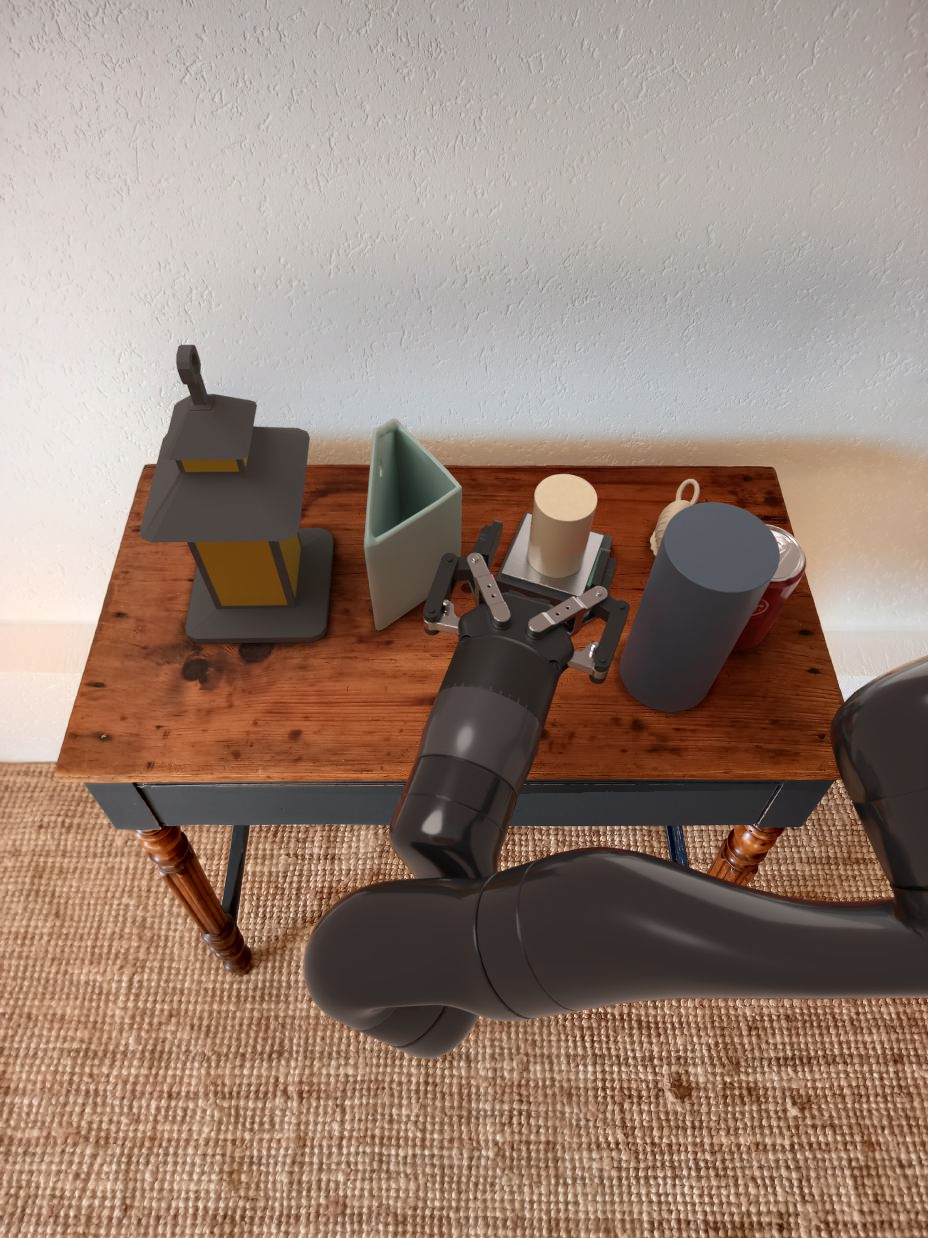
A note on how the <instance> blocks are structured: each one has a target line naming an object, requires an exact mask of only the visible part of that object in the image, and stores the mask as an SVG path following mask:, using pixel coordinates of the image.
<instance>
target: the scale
mask: <svg viewBox="0 0 928 1238" xmlns="http://www.w3.org/2000/svg"><path fill="white" fill-rule="evenodd" d="M531 518H532V512H529V511H526V510H525V511H524V514H523V516H522V518H521V520H520V523H519V525H518V527H517V529H516V532H515V533H514V536H513V538H512V541H511V543H510V546H509V548H508V550H507V552H506V555H505V557H504V559H503V562H502V564H501V566H500V568H499V571H498V573H497V575H496V577H495V582H496V584H497V586H498V589H499V591H500V593H508V592H509V590H512V591H516V592H519V593H521V594H523V595H525V596H527V597H529V598H541V599H545V600H549V601H550V604H551V605H552V606H554V607H555V606H557V605H559V604H560V603H562V602H564V601H566V600H567V599H569V598H571V597H573V596H575V597H578V596H580V595H582V594H583V593H585V592H587V591H589V590H590V585H591V582H592V578H593V575H594V572H595V569H596V565H597V562H598V559H599V556H600V552H601V549H602V548H603V549H607V550H610V551H611V549H612V545H613V542H614V536H612V535H609V534H605V533H602V532H598V531H595V530H592V529H591V533H590V537H589V542H588V546H587V550H586V555H585V559H584V563H583V565H582V567H581V568H580V569H579V570H578V571H577V572H576V573H574V574H573V575H570V576H568V577H563V578H552V577H548V576H545V575H542V574H541V573H539V572H537V571H536V570H535V569H534V568H533V567H532V566H531V564H530V562H529V560H528V557H527V549H528V542H529V534H530V526H531Z"/></svg>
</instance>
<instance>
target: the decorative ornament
mask: <svg viewBox="0 0 928 1238" xmlns="http://www.w3.org/2000/svg"><path fill="white" fill-rule="evenodd" d="M690 484H691V485H692V486H693V488H694V492H693V496H692V499H691V500H685V499H683V500H682V496H683V491H684V490H685V488H686V487H687V486H688V485H690ZM700 492H701V490H700V484H699V482H698V481H697V480H696V479H693V478H687V479H685V480H683V482H682V483H681V484H680V485H679V487H678V488H677V491H676V494H675V500H674V501H672V502H671V503H669V504H668V505H667V506H666V507H664V509H663V510H662V511H661V513H660V514H659V516H658V520H657V523H656V526H655V530H654V531H653V533H652V535H651V537H650V539H649V542H650V543H649V544H650V550H651V551H652V552H653V556H654V557H656V555H657V552H658V549H659V546H660V543H661V540H662V537H663V535H664V532H665V529H666V527H667V524H668V523H669V521H670V520H671V519H672V517H673V516H674V515H675V514H677V513H678V512H679V511H681V510H683V509H684V508H686V507H689V506H691V505H695V504H697V502H698V500H699V497H700Z"/></svg>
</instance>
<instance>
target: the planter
mask: <svg viewBox="0 0 928 1238" xmlns="http://www.w3.org/2000/svg"><path fill="white" fill-rule="evenodd" d="M371 435H372V437H371V449H370V460H369V461H370V462H369V474H368V486H367V487H368V488H367V498H366V499H367V500H366V510H365V524H364V536H363V538H364V539H363V551H364V559H365V565H366V572H367V579H368V580H367V581H368V585H369V593H370V600H371V606H372V613H373V621H374V626H375V630H376V631H382V630H384V629H386V628H388V627H389V626H390V625H391V624H393V623H394V622H395V621H397V620H399V619H400V618H401V617H403V616H404V615H406V614H407V613H409V612H410V611H412V610H413V609H414V608H416V607H418V606H419V605H420V604H422V603H424V601H425V602H426V600H427V597H428V595H429V592H430V589H431V586H432V583H433V581H434V578H435V575H436V572H437V570H438V567H439V564H440V561H441V558H442V556H443V555H444V554H446V553H453V554H455V555H456V556H457V557H462V518H463V517H462V515H463V513H462V512H463V487H462V485H461V484H460V482H458V480H457V479H456V478H455V477H454V476H453V475H452V474H451V472H450V471H449V470H448V469H447V468H446V467H445V466H444V465H443V464H442V463H441V462H440V460H438V459H437V458H436V457H435V456H434V455H433V454H432V453H431V452H430V451H429V450H428V449H427V448H425V446H424V445H423V444H421V442H419V440H418V439H416V438H415V436H414V435H413V434H412V433H411V432H410V431H409V430H408V429H407V428H406V427H405V426H404V424H402V423H401V421H400V420H399V419H398V418H391V419H389V420H388V421H386V422H385V423H383V424H381V425H379V426H377V427H375V428H374V429H373V430H372V434H371Z"/></svg>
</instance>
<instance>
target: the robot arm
mask: <svg viewBox="0 0 928 1238" xmlns="http://www.w3.org/2000/svg"><path fill="white" fill-rule="evenodd" d="M503 527H504V522H503V521H501V520H498V519H497V520H496V519H493V521H492V522H491V525H489V524H485V525H484V526H483V527H482V528H481V529H480V532H479V534H478V537H477V539H476V541H475V543H474V546H473V549H472V550H471V552H470V554H468V555H466V556H461V557H457V556H456V555H455V554H453V553H446V554H444V555H443V556H442V558H441V561H440V564H439V567H438V570H437V572H436V575H435V578H434V581H433V583H432V586H431V589H430V592H429V595H428V597H427V599H426V600H425V603H424V606H423V609H422V616H423V617H422V619H423V620H422V621H423V630H424V632H425V634H426V635H428V636H437V635H439V633H440V632H444V633H447V634H452V635H457V637H458V641H457V644H456V647H455V649H454V652H453V655H452V656H451V659H450V662H449V664H448V666H447V669H446V672H445V674H444V675H443V678H442V682H441V684H440V686H439V689H438V691H437V694H436V696H435V699H434V700H433V704H432V706H431V709H430V711H429V714H428V716H427V719H426V721H425V724H424V726H423V729H422V733H421V736H420V740H419V745H418V748H417V749H418V750H417V753H416V756H415V759H414V763H413V765H412V768H411V770H410V772H409V775H408V778H407V780H406V783H405V785H404V788H403V790H402V792H401V795H400V797H399V800H398V802H397V805H396V807H395V810H394V812H393V815H392V818H391V821H390V824H389V828H388V842H389V845H390V847H391V849H392V851H393V853H394V854H395V856H397V858H398V859H399V860H400V861H401V862H402V863H403V864H404V866H405V867H406V868H407V869H408V870H409V871H410V873H411V874H412V876H413V877H414V878H401V879H400V878H399V879H390V880H382V881H378V882H373V883H370V884H367V885H364V886H361V887H359V888H356V889H354V890H352V891H350V892H349V893H346V894H345V895H344V896H342V897H341V898H339V899H338V900H337V901H335V903H332V905H331V906H330V907H328V909H327V910H326V911H324V913H323V914H322V915H321V916H320V918H319V919H318V921H317V922H316V923H315V925H314V927H313V929H312V931H311V933H310V935H309V937H308V939H307V941H306V945H305V949H304V952H303V965H302V968H303V969H302V971H303V979H304V984H305V986H306V989H307V992H308V994H309V996H310V998H311V1000H312V1002H313V1003H314V1004H315V1006H317V1008H319V1010H320V1011H321V1012H322V1013H323V1014H324V1015H326V1016H327V1017H329V1018H330V1019H332V1020H334V1021H335V1022H337V1023H340V1024H341V1025H344V1026H346V1027H348V1028H350V1029H351V1030H355V1031H357V1032H359V1033H361V1034H364V1035H366V1036H368V1037H371V1038H372V1039H374V1040H377V1041H379V1042H381V1043H383V1044H385V1045H388V1046H390V1047H391V1048H394V1049H396V1050H398V1051H400V1052H402V1053H405V1054H407V1055H409V1056H413V1057H415V1058H419V1059H424V1060H429V1059H430V1060H433V1059H438V1058H440V1057H443V1056H445V1055H447V1054H449V1053H451V1052H452V1051H453V1050H455V1049H456V1048H457V1047H458V1046H459V1045H461V1043H462V1042H463V1041H465V1040H466V1038H467V1037H468V1035H469V1034H470V1032H471V1031H472V1030H473V1029H474V1027H475V1025H476V1023H477V1022H478V1021H479V1019H480V1017H481V1018H485V1019H488V1020H493V1021H499V1022H522V1021H530V1020H531V1021H532V1020H536V1019H542V1018H543V1019H544V1018H548V1017H554V1016H561V1015H565V1014H566V1015H567V1014H571V1013H577V1012H583V1011H588V1010H594V1009H599V1008H605V1007H610V1006H615V1005H616V1006H617V1005H624V1004H631V1003H639V1002H650V1001H653V1002H654V1001H665V1000H666V1001H669V1000H690V999H691V1000H694V999H695V1000H696V999H699V1000H700V999H719V1000H720V999H721V1000H722V999H723V1000H724V999H728V1000H731V999H733V1000H736V999H737V1000H844V999H845V1000H848V999H849V1000H850V999H851V1000H853V999H854V1000H855V999H909V998H910V999H911V998H912V999H913V998H915V999H916V998H917V999H918V998H919V999H920V998H921V999H923V998H925V999H926V998H928V654H927V655H924V656H922V657H918V658H915V659H913V660H911V661H910V660H909V661H908V662H905V663H903V664H900V665H898V666H896V667H894V668H892V669H890V670H889V671H886V672H884V673H882V674H880V675H878V676H876V677H875V678H873V679H871V680H870V681H868V682H867V683H866V684H864V685H862V686H860V688H858V689H857V690H855V691H854V692H853V693H852V694H850V695H849V696H848V697H847V699H845V701H844V702H843V703H842V704H841V705H840V706H839V707H838V709H837V710H836V712H835V714H834V716H833V719H832V721H831V723H830V729H829V739H830V745H831V751H832V754H833V758H834V760H835V763H836V767H837V770H838V773H839V775H840V779H841V781H842V783H843V786H844V789H845V791H846V793H847V795H848V798H849V800H850V801H851V805H852V806H853V808H854V810H855V813H856V815H857V818H858V819H859V821H860V824H861V825H862V828H863V830H864V832H865V835H866V837H867V839H868V841H869V843H870V845H871V847H872V850H873V852H874V854H875V856H876V859H877V861H878V863H879V865H880V867H881V869H882V872H883V874H884V877H885V878H886V880H887V881H888V883H889V887H890V890H891V892H892V894H893V896H892V897H883V898H875V899H873V898H872V899H861V900H819V899H808V898H807V899H806V898H802V897H801V898H800V897H795V896H794V897H793V896H788V895H783V894H780V893H779V894H778V893H775V892H771V891H766V890H762V889H758V888H754V887H750V886H748V885H747V886H746V885H743V884H740V883H737V882H733V881H730V880H727V879H724V878H721V877H718V876H716V875H713V874H709V873H706V872H703V871H700V870H697V869H695V868H692V867H690V866H686V865H684V864H681V863H677V862H675V861H672V860H668V859H665V858H662V857H659V856H656V855H653V854H649V853H645V852H642V851H636V850H632V849H626V848H619V847H613V846H588V847H579V848H573V849H569V850H565V851H564V850H563V851H560V852H559V851H558V852H556V853H553V854H550V855H547V856H543V857H540V858H537V859H533V860H531V861H528V862H525V863H524V862H523V863H521V864H518V865H515V866H512V867H508V868H505V869H503V870H500V871H499V861H500V856H501V852H502V849H503V846H504V844H505V841H506V838H507V834H508V832H509V828H510V825H511V822H512V818H513V815H514V811H515V809H516V805H517V802H518V800H519V797H520V794H521V792H522V789H523V787H524V786H525V783H526V781H527V780H528V777H529V774H530V772H531V770H532V767H533V764H534V761H535V758H536V757H537V755H538V753H539V750H540V744H541V743H540V742H541V740H542V735H543V732H544V729H545V726H546V722H547V720H548V716H549V713H550V710H551V708H552V707H551V706H552V703H553V700H554V697H555V694H556V691H557V687H558V684H559V681H560V677H561V676H562V675H563V673H564V672H565V671H567V670H568V669H569V668H571V669H573V670H576V671H578V672H581V673H584V674H588V678H589V681H590V682H591V683H592V684H594V685H602V684H604V683H605V682H606V680H607V677H608V674H609V671H610V668H611V665H612V663H613V660H614V657H615V654H616V651H617V648H618V646H619V643H620V641H621V637H622V635H623V631H624V629H625V625H626V622H627V620H628V616H629V613H630V610H631V605H630V603H629V602H628V601H627V600H625V599H616V598H614V597H613V596H612V595H611V593H610V589H611V585H612V583H613V582H612V581H613V579H614V575H615V572H616V567H617V560H616V558H613V557H610V555H611V552H612V550H611V549H610V550H607V549H603V548H602V549H601V552H600V556H599V559H598V562H597V565H596V569H595V572H594V575H593V578H592V582H591V585H590V590H589V591H587V592H585V593H583V594H582V595H580V596H578V597H575V596H573V597H571V598H569V599H567V600H566V601H564V602H562V603H560V604H559V605H557V606H555V607H554V606H552V605H551V604H550V601H549V600H545V599H541V598H529V597H527V596H525V595H523V594H521V593H519V592H516V591H512V590H509V592H508V593H500V591H499V589H498V586H497V584H496V582H495V580H496V578H495V577H494V575H493V573H491V572H490V569H491V567H492V563H493V562H494V559H495V556H496V554H497V551H498V548H499V546H500V544H501V541H502V537H503V530H504V529H503ZM466 581H467V583H468V586H469V588H470V591H471V593H472V596H473V598H474V602H475V606H476V607H473V608H472V609H470V610H469V611H467V612H465V613H463V614H462V615H461V616H460V617H459V616H457V615H456V613H455V605H454V603H453V602H451V600H452V597H453V595H454V591H455V588H456V585H457V582H466ZM597 619H600V620H602V621H604V623H606V624H605V626H604V628H603V631H602V633H601V637H600V640H599V642H597V641H593V642H590V643H588V644H587V645H585V648H584V649H582V650H575V646H574V643H573V641H572V639H571V638H572V637H574V636H575V635H577V634H579V633H580V631H581V630H582V629H583V628H584V627H585V626H587V625H588V624H590V623H592V622H593V621H596V620H597Z"/></svg>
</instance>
